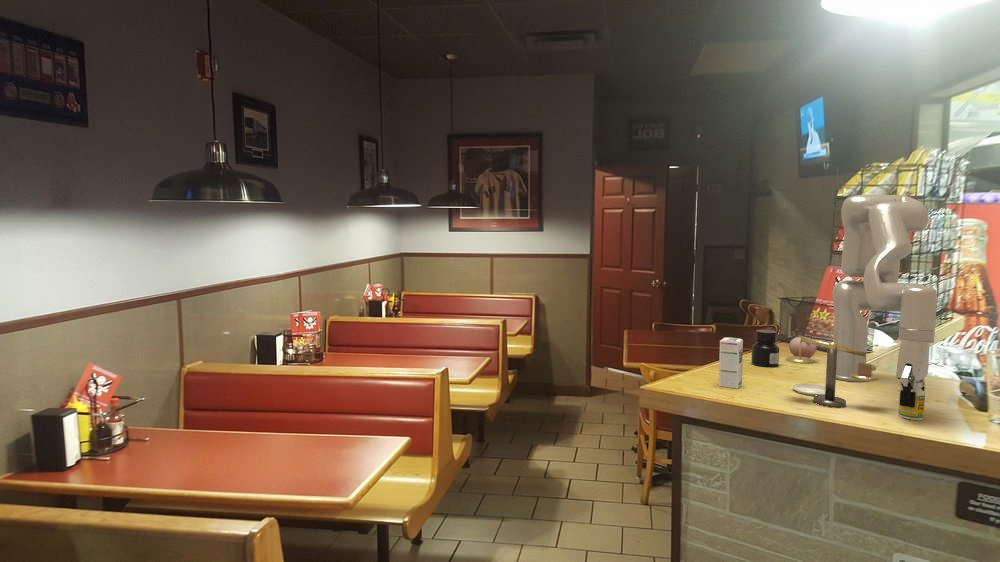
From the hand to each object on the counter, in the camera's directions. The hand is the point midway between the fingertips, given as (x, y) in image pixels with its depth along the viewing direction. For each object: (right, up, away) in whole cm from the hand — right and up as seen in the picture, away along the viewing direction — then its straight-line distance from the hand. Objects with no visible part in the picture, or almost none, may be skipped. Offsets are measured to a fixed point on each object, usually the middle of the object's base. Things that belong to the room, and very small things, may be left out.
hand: (911, 402), depth 157 cm
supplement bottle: (0, -4, 0) cm, 4 cm away
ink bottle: (-12, +1, +60) cm, 62 cm away
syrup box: (-35, -1, +31) cm, 47 cm away
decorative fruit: (+4, +2, +66) cm, 67 cm away
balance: (-14, -3, +13) cm, 19 cm away
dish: (-13, -2, +25) cm, 28 cm away
